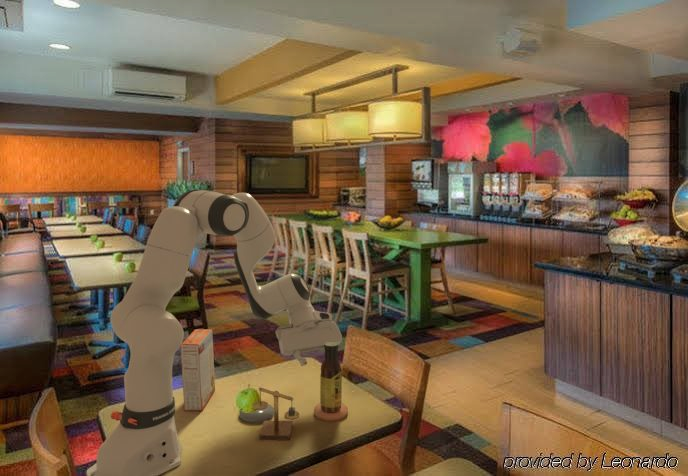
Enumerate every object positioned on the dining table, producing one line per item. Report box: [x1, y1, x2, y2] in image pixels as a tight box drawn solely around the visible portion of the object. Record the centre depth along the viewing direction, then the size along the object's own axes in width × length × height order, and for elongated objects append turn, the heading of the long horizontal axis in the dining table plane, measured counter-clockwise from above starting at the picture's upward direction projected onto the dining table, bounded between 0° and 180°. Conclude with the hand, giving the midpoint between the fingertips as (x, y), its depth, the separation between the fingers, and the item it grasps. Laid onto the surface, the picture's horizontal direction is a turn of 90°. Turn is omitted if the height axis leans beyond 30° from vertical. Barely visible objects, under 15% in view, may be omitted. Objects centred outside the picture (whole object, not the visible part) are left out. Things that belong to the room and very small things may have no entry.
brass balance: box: [252, 387, 300, 441], centre depth 143 cm, size 13×8×13 cm, turn 90°
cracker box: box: [180, 328, 216, 412], centre depth 161 cm, size 14×6×21 cm, turn 178°
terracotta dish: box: [313, 402, 349, 422], centre depth 155 cm, size 10×10×1 cm
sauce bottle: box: [319, 342, 343, 413], centre depth 154 cm, size 6×6×20 cm
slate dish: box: [239, 403, 274, 424], centre depth 154 cm, size 10×10×1 cm
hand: (318, 362), depth 160 cm, fingers open, 8 cm apart
